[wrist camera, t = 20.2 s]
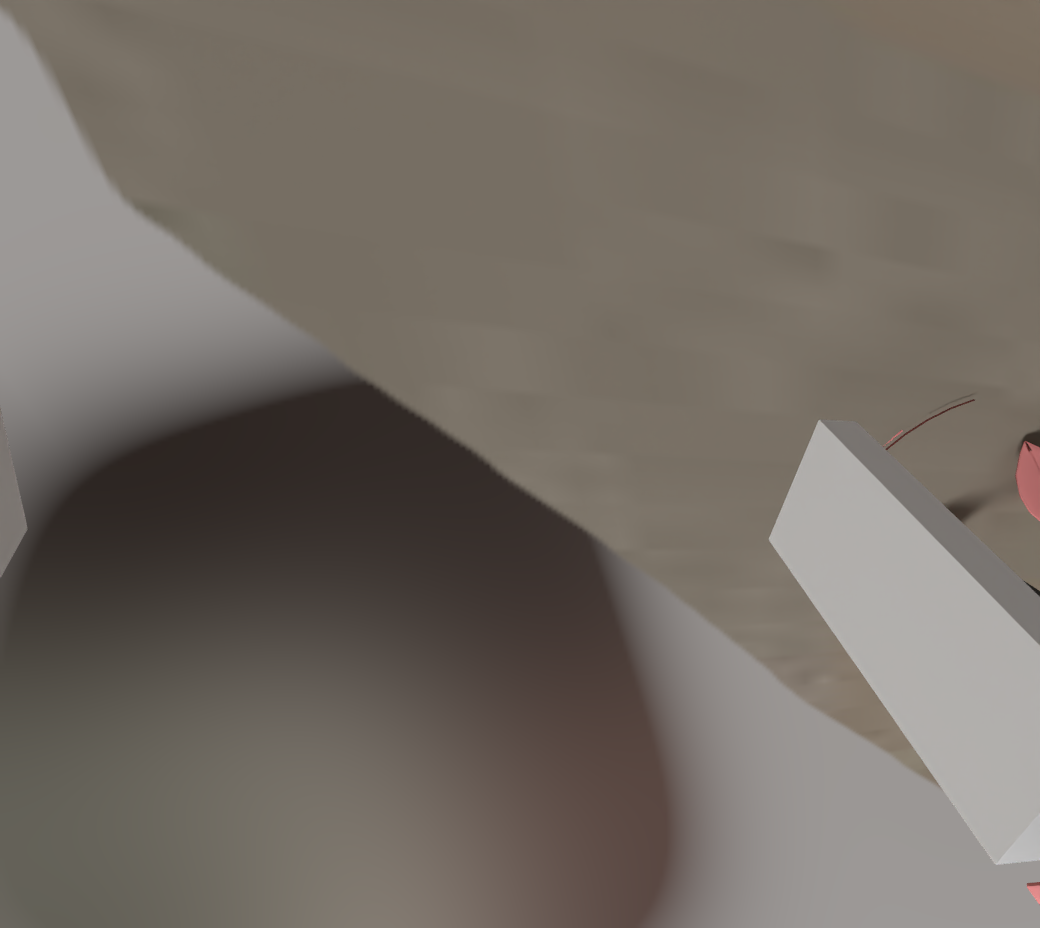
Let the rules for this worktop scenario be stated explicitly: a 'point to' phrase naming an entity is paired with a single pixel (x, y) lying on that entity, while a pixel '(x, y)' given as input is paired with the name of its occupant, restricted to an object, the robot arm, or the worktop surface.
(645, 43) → the worktop surface
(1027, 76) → the worktop surface
